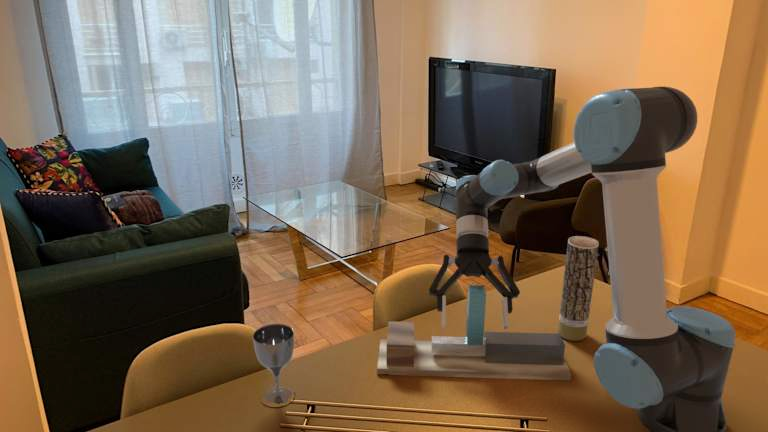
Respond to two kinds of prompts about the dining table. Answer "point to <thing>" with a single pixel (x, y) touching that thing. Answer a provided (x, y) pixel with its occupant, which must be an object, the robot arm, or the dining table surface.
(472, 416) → the dining table surface
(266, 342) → the wine glass
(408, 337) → the walnut socket
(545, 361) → the steel sleeve
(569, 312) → the bark log
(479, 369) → the birch board
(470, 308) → the sliding bolt
